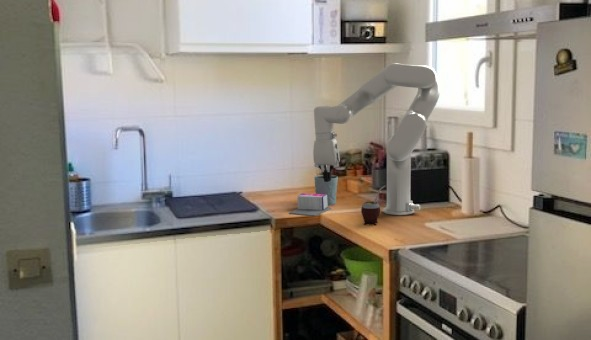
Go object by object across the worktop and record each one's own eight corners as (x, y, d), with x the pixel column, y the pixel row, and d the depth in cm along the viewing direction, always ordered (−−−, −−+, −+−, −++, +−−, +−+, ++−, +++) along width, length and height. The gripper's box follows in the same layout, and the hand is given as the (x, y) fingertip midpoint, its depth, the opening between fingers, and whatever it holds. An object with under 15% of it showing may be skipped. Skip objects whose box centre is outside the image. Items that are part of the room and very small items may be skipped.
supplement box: (323, 196, 266) (296, 196, 270) (323, 210, 267) (297, 209, 271) (327, 193, 272) (301, 193, 275) (327, 207, 273) (302, 206, 276)
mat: (331, 208, 272) (331, 207, 272) (315, 216, 259) (315, 215, 259) (305, 206, 278) (305, 205, 278) (288, 213, 265) (288, 212, 265)
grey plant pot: (310, 203, 283) (309, 176, 282) (328, 200, 289) (327, 173, 287) (324, 207, 275) (324, 179, 273) (342, 203, 281) (342, 176, 279)
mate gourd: (357, 223, 247) (357, 184, 244) (374, 220, 251) (374, 182, 248) (369, 227, 240) (369, 187, 238) (386, 224, 244) (386, 184, 242)
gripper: (345, 135, 262) (348, 180, 265) (312, 135, 269) (315, 179, 272) (337, 137, 256) (340, 183, 259) (304, 138, 263) (307, 182, 266)
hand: (327, 181), depth 265 cm, fingers closed
